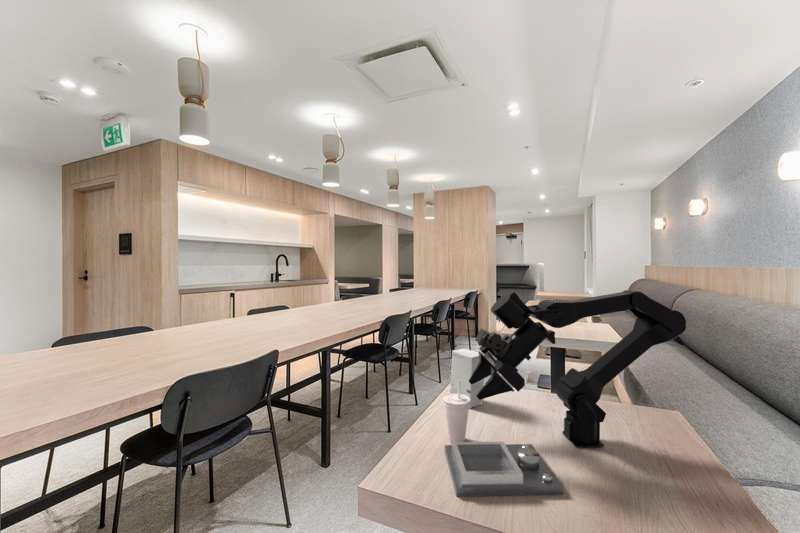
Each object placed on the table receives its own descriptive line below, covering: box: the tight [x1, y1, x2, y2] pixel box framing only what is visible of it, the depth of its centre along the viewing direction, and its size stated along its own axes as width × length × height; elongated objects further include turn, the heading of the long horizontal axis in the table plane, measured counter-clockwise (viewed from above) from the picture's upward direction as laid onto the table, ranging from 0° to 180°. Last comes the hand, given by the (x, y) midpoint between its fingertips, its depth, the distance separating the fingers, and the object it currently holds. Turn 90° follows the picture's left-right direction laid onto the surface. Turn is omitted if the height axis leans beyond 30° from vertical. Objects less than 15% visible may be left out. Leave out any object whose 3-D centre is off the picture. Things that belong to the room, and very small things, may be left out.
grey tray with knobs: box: [444, 441, 564, 497], centre depth 68 cm, size 19×14×4 cm
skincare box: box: [449, 348, 485, 409], centre depth 101 cm, size 8×6×15 cm
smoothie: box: [442, 380, 471, 443], centre depth 80 cm, size 6×6×14 cm
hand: (473, 389), depth 79 cm, fingers open, 9 cm apart
